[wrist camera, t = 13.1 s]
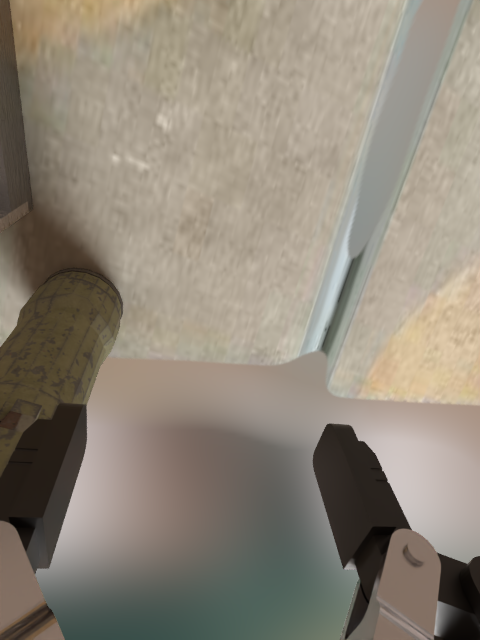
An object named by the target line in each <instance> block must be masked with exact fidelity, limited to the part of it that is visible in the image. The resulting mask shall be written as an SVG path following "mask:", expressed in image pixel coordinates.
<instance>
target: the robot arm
mask: <svg viewBox="0 0 480 640" xmlns="http://www.w3.org/2000/svg"><path fill="white" fill-rule="evenodd" d="M86 411H87V410H86V404H74V403H59V405H58V406H57V408H56V411H55V413H54V415H53V417H52V420H47V419H37V420H36V421H35V422H34V423H33V424H32V425H31V426H29V427H28V428H27V429H26V430H25V431H24V432H23V434H22V436H21V438H20V440H19V442H18V444H17V446H16V447H15V451H13V453H12V455H11V457H10V459H9V462H8V465H6V467H5V469H4V471H3V473H2V475H1V477H0V640H65V639H64V637H63V634H62V632H61V630H60V627H59V625H58V622H57V620H56V618H55V616H54V614H53V612H52V610H51V609H50V608H49V607H48V606H47V603H46V601H45V599H44V596H43V594H42V591H41V589H40V587H39V584H38V582H37V579H36V577H35V573H36V570H37V568H49V567H50V563H51V560H52V557H53V553H54V551H55V547H56V544H57V541H58V538H59V534H60V531H61V528H62V525H63V521H64V518H65V515H66V512H67V508H68V506H69V502H70V499H71V496H72V492H73V489H74V486H75V483H76V480H77V477H78V473H79V470H80V467H81V463H82V461H83V457H84V453H85V449H86V442H87V413H86ZM313 467H314V472H315V475H316V479H317V482H318V485H319V488H320V492H321V496H322V499H323V502H324V505H325V509H326V512H327V515H328V519H329V522H330V526H331V529H332V532H333V536H334V539H335V542H336V545H337V549H338V552H339V556H340V559H341V563H342V566H343V569H357V572H358V575H359V578H360V579H359V580H358V581H357V584H356V587H355V590H354V594H353V597H352V600H351V604H350V607H349V610H348V613H347V617H346V620H345V624H344V627H343V630H342V633H341V637H340V640H480V556H478V557H475V558H473V559H472V560H471V561H470V562H469V563H468V564H466V563H463V562H460V561H458V560H455V559H452V558H449V557H447V556H444V555H441V554H439V553H437V552H436V551H435V549H434V548H433V546H432V545H431V544H430V543H429V542H428V541H427V540H426V539H425V538H424V537H423V536H421V535H420V534H418V533H417V532H414V531H412V529H411V528H410V526H409V524H408V522H407V519H406V517H405V515H404V513H403V511H402V509H401V507H400V505H399V503H398V501H397V498H396V496H395V494H394V493H393V490H392V488H391V486H390V484H389V483H388V482H387V478H386V475H385V473H384V471H382V467H381V465H380V463H379V461H378V459H377V457H376V455H375V453H374V452H373V451H372V450H371V449H370V448H369V447H368V445H367V444H366V443H365V442H363V441H358V439H357V437H356V434H355V432H354V430H353V428H352V427H351V426H350V425H342V424H327V425H326V427H325V429H324V431H323V433H322V436H321V438H320V440H319V442H318V444H317V447H316V449H315V451H314V455H313Z"/></svg>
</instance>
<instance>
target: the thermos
mask: <svg viewBox="0 0 480 640" xmlns="http://www.w3.org/2000/svg"><path fill="white" fill-rule="evenodd" d="M122 314H123V302H122V299H121V297H120V294H119V292H118V291H117V289H116V288H115V287H114V285H113V284H112V283H111V282H110V281H108V280H107V279H106V278H104V277H103V276H102V275H100V274H97V273H95V272H92V271H90V270H86V269H77V268H72V269H66V270H61V271H59V272H57V273H55V274H53V275H51V276H50V277H49V278H48V279H47V281H46V282H45V283H44V284H43V285H41V286H40V287H39V288H38V289H37V291H36V292H35V293H34V294H33V295H32V297H31V298H30V299H29V300H28V302H27V303H26V304H25V305H24V307H23V308H22V309H21V311H20V314H19V318H18V322H17V326H16V328H15V329H14V330H13V331H12V333H11V334H10V335H9V337H8V338H7V339H6V341H5V342H4V343H3V345H2V346H1V347H0V477H1V475H2V473H3V471H4V469H5V467H6V465H8V462H9V459H10V457H11V455H12V453H13V451H15V447H16V446H17V444H18V442H19V440H20V438H21V436H22V434H23V432H24V431H25V430H26V429H27V428H28V427H29V426H31V425H32V424H33V423H34V422H35V421H36V420H37V419H47V420H52V417H53V415H54V413H55V411H56V408H57V406H58V405H59V403H74V404H86V405H87V402H88V400H89V397H90V394H91V391H92V388H93V385H94V383H95V380H96V377H97V374H98V371H99V368H100V366H101V365H102V363H103V362H104V360H105V359H106V358H107V356H108V355H109V354H110V352H111V350H112V347H113V345H114V343H115V340H116V337H117V334H118V331H119V328H120V319H121V317H122Z"/></svg>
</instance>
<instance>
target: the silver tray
mask: <svg viewBox="0 0 480 640" xmlns="http://www.w3.org/2000/svg"><path fill="white" fill-rule="evenodd" d="M32 209H33V205H32V196H31V187H30V178H29V170H28V161H27V152H26V143H25V134H24V125H23V117H22V108H21V99H20V90H19V81H18V73H17V64H16V55H15V46H14V37H13V28H12V20H11V11H10V2H9V0H0V233H1V232H3V231H4V230H5V229H7V228H8V227H9V226H11V225H12V224H13V223H15V222H16V221H18V220H19V219H20V218H22V217H23V216H24V215H26V214H27V213H28V212H30V211H31V210H32Z"/></svg>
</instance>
